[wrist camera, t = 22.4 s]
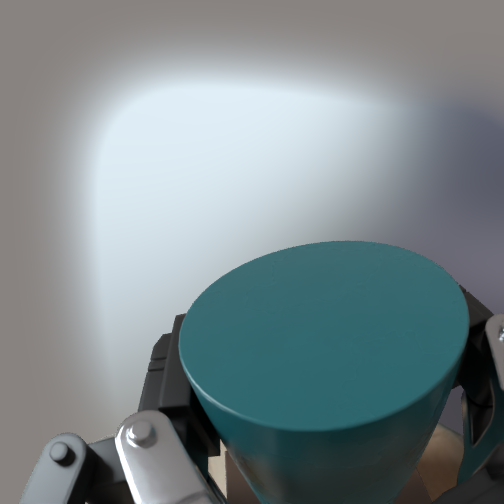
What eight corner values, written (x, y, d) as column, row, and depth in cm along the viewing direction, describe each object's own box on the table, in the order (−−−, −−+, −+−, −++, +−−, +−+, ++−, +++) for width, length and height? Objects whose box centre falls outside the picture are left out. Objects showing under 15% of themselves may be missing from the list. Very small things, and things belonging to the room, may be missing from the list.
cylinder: (278, 558, 8) (158, 459, 3) (264, 462, 14) (191, 268, 9) (407, 523, 8) (529, 342, 3) (372, 435, 13) (386, 225, 9)
